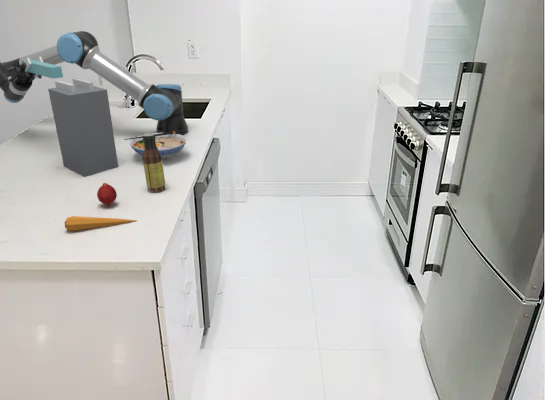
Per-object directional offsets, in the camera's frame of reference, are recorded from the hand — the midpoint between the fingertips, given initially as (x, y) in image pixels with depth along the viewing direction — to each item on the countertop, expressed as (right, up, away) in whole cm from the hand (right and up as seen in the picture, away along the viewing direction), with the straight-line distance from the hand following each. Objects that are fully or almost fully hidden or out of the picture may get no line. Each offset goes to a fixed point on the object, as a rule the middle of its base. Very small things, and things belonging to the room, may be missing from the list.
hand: (35, 60), depth 174 cm
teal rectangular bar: (+3, -5, -1) cm, 6 cm away
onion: (+42, -57, -34) cm, 79 cm away
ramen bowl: (+48, -38, +8) cm, 62 cm away
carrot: (+45, -64, -46) cm, 90 cm away
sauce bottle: (+54, -52, -22) cm, 78 cm away
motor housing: (+24, -43, -3) cm, 49 cm away
